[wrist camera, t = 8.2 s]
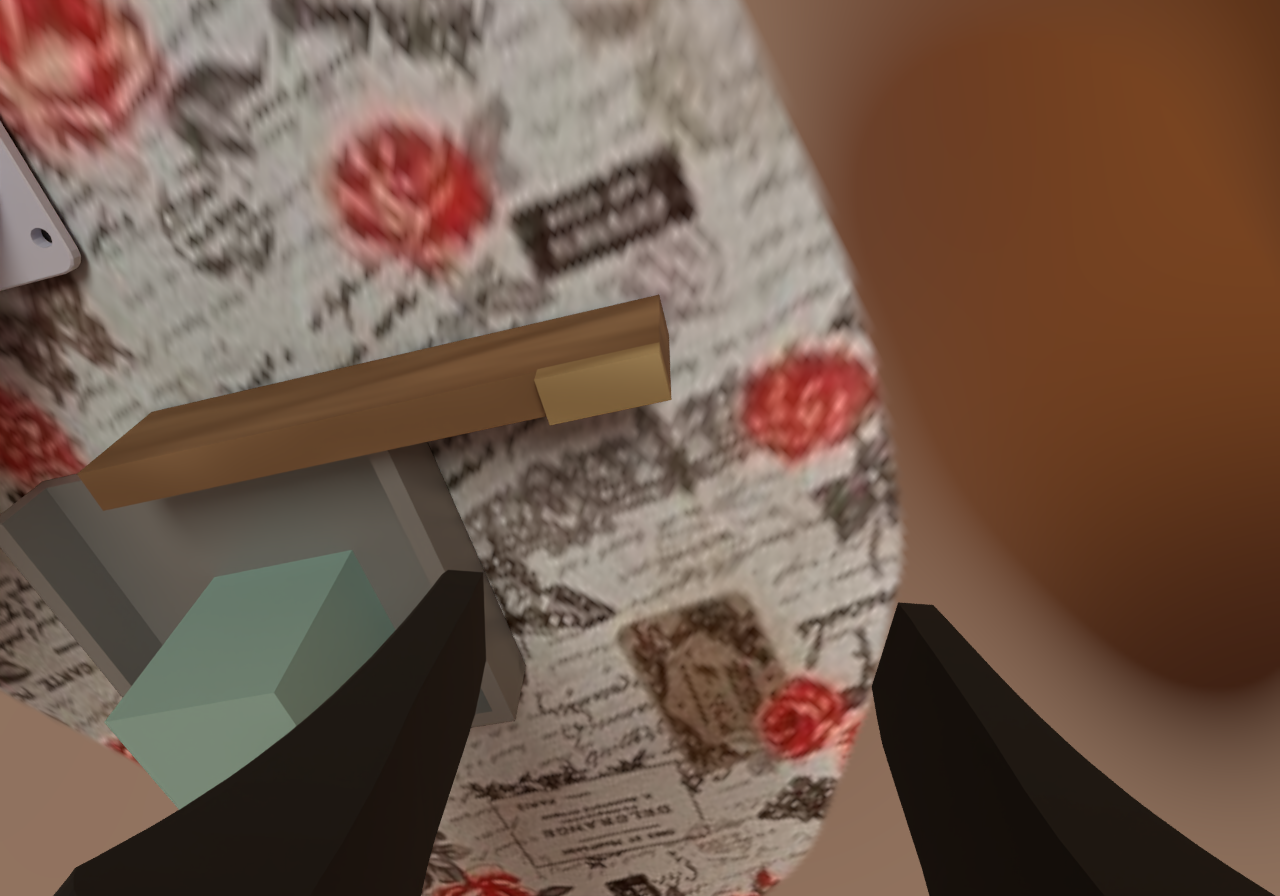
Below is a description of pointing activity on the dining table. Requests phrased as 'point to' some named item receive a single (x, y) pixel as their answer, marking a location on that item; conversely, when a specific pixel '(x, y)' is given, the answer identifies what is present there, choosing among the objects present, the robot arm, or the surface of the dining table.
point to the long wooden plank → (394, 404)
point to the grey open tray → (248, 554)
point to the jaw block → (248, 669)
